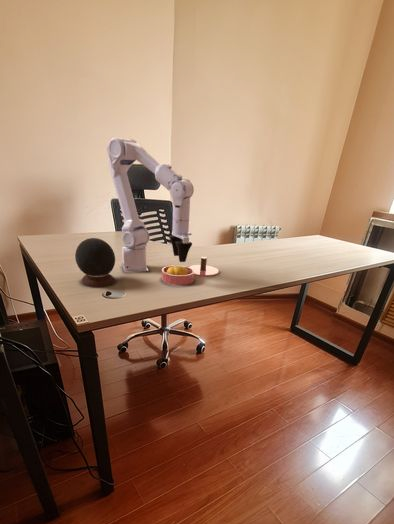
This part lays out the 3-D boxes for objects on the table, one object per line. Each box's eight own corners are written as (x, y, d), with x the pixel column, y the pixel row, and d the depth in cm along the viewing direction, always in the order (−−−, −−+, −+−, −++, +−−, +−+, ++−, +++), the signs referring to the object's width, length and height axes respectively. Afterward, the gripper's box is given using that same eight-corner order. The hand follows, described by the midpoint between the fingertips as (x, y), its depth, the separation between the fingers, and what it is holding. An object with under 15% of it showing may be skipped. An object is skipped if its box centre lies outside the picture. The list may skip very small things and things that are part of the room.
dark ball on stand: (119, 286, 107) (116, 243, 99) (79, 289, 102) (72, 243, 94) (114, 274, 117) (111, 233, 109) (78, 276, 113) (72, 234, 105)
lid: (192, 278, 119) (193, 263, 116) (183, 267, 129) (184, 253, 126) (223, 276, 123) (224, 262, 120) (211, 266, 133) (213, 252, 130)
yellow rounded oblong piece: (168, 282, 112) (168, 269, 110) (165, 277, 116) (165, 264, 114) (191, 281, 115) (191, 268, 112) (187, 276, 119) (188, 264, 116)
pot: (165, 287, 109) (166, 276, 107) (158, 275, 119) (158, 265, 117) (197, 285, 113) (198, 275, 111) (188, 274, 123) (188, 264, 121)
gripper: (198, 223, 101) (195, 264, 108) (185, 215, 112) (184, 252, 119) (178, 223, 99) (176, 264, 106) (167, 215, 110) (166, 253, 117)
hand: (179, 258), depth 113 cm, fingers open, 7 cm apart
